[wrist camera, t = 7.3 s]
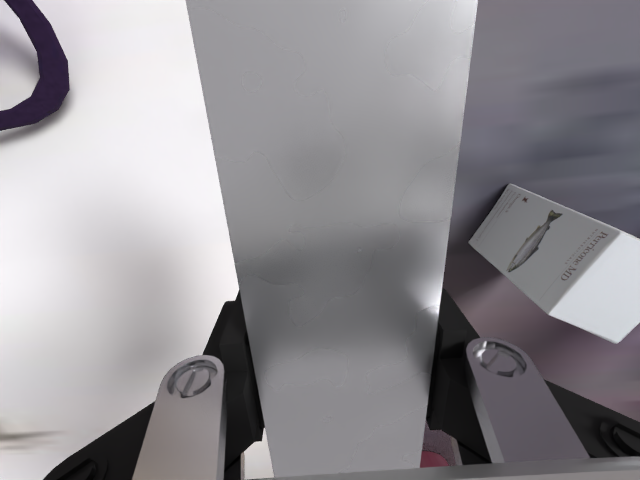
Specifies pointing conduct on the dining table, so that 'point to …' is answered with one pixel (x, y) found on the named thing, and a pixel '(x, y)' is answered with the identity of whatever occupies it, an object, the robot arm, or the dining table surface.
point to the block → (338, 209)
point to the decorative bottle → (50, 68)
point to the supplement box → (564, 262)
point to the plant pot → (432, 460)
